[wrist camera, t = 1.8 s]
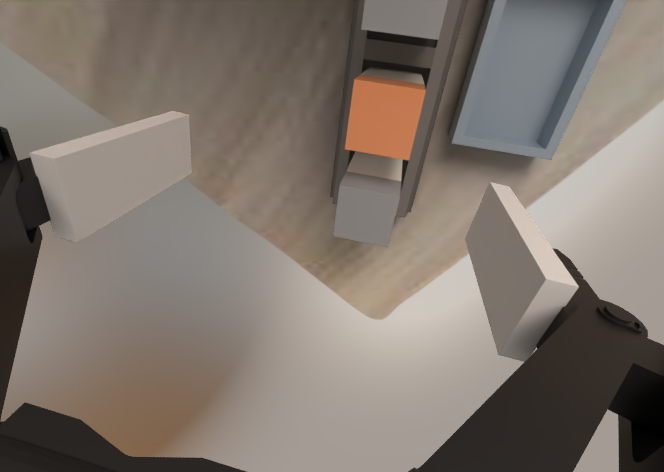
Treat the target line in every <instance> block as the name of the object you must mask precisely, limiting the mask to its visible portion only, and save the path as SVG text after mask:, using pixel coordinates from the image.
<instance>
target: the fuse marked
mask: <svg viewBox="0 0 664 472" xmlns="http://www.w3.org/2000/svg"><path fill="white" fill-rule="evenodd" d="M425 93H426V88H425V85H424V81H423V77H422V74H421V73H416V72H409V71H403V70H396V69H389V68H382V67H375V66H371V67H369V68H368V69H367V70H365V71H364V72H363V73H362V74H360V75H359V76H358V77H357V78H355V79H354V85H353V92H352V100H351V107H350V114H349V121H348V129H347V136H346V143H345V149H346V150H352V151H358V152H363V153H369V154H375V155H380V156H386V157H392V158H397V159H403V160H409V158H410V154H411V150H412V146H413V142H414V138H415V134H416V130H417V126H418V122H419V117H420V113H421V109H422V105H423V101H424V97H425Z"/></svg>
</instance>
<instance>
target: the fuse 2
mask: <svg viewBox="0 0 664 472" xmlns="http://www.w3.org/2000/svg"><path fill="white" fill-rule="evenodd" d="M447 2H448V0H365V5H364V12H363V19H362V27H361V29H362V30H369V31H377V32H384V33H391V34H399V35H406V36H413V37H421V38H428V39H435V40H438V39H439V35H440V31H441V27H442V23H443V19H444V15H445V11H446V7H447Z"/></svg>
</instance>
